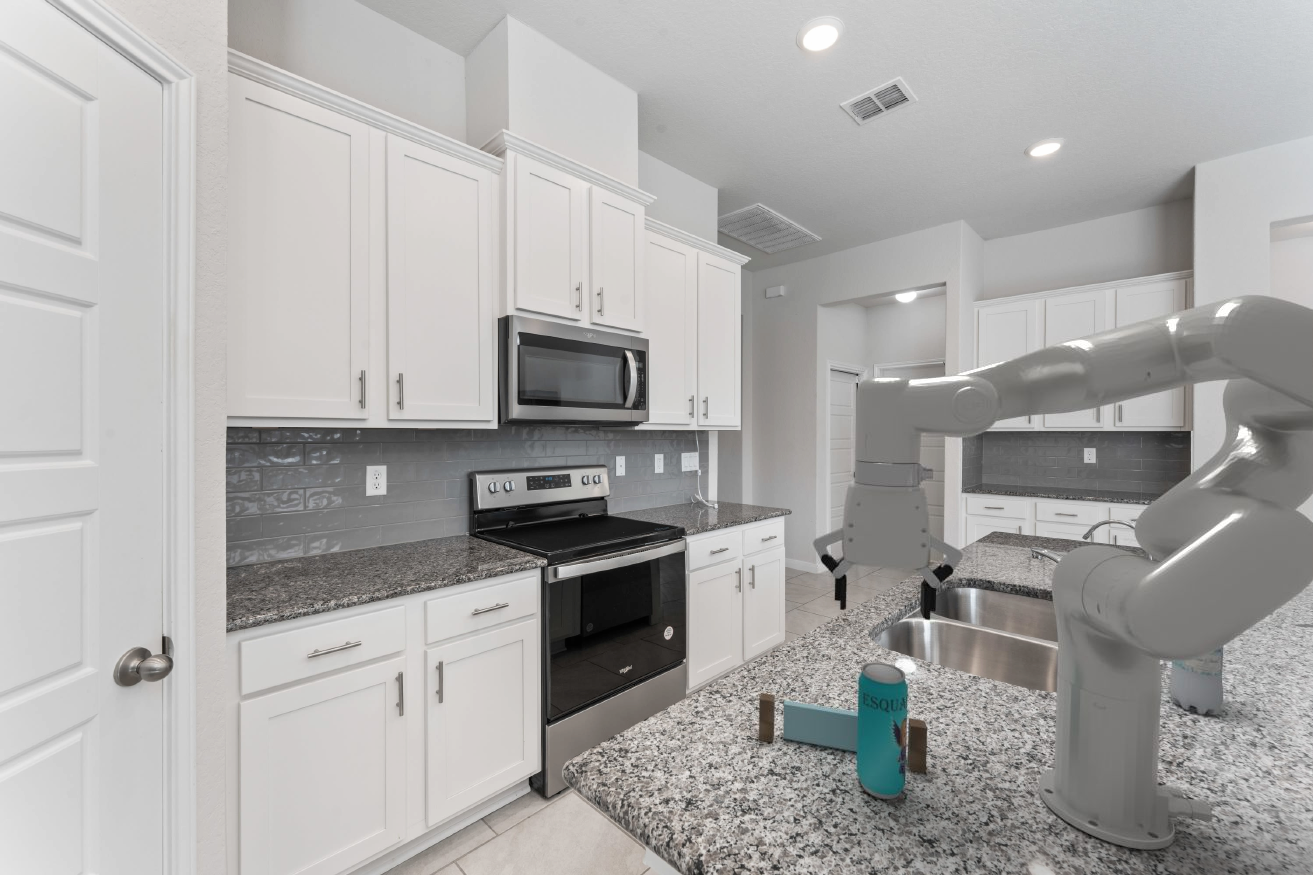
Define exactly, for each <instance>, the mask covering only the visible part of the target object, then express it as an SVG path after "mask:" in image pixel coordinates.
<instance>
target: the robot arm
mask: <svg viewBox="0 0 1313 875" xmlns="http://www.w3.org/2000/svg"><path fill="white" fill-rule="evenodd" d="M1213 381H1214V382H1215V381H1228V382H1227V383H1226V385H1225V387H1224V390H1223V394H1222V407H1223V413H1224V418H1225V437H1224V441H1223V444H1222V445H1221V447H1220V448H1219V450H1218V451H1217V452H1215V454H1214V455H1212V457H1211V458H1209V460H1208V461H1206V462H1205V463H1204V464H1203V465H1201V466H1200V467H1198V469H1196V470H1194V471H1193V472H1192V473H1191V474H1189V475H1188V476H1186V478H1184V479H1183V480H1182V481H1180V482H1178V483H1177V484H1176V485H1174V486H1173V487H1172V488H1170V489H1169V490H1168V491H1166V492H1165V493H1164V494H1162V495H1161V496H1160V497H1158V498H1157V499H1155V500H1154V501H1153V502H1151V503H1149V505H1148V506H1146V508H1145V509H1143V511H1141V513H1140V514H1139V515H1138V517H1137V519H1136V521H1135V524H1134V529H1133V530H1134V532H1133V533H1134V537H1135V540H1136V541H1137V544H1138V545H1139V547H1141V549H1143V551H1144V552H1146V553H1147V554H1148V555H1149V556H1151V557H1152V558H1154V559H1156V560H1157V561H1155V560H1152V559H1151V558H1149V557H1148V558H1147V557H1146V556H1143V555H1139V554H1136V553H1134V552H1130V551H1127V550H1124V549H1121V548H1117V547H1113V546H1109V545H1101V544H1100V545H1099V544H1096V545H1095V544H1094V545H1093V544H1091V545H1084V546H1080V547H1076V548H1074V549H1072V550H1070V551H1069V552H1067V553H1066V554H1064V555H1063V556H1062V557H1061V558H1060V560H1059V561H1058V562H1057V564H1056V565H1055V567H1054V570H1053V572H1052V578H1051V595H1052V601H1053V607H1054V608H1053V609H1054V615H1055V619H1056V620H1055V621H1056V628H1057V630H1056V631H1057V671H1056V672H1057V676H1056V702H1055V703H1056V705H1055V706H1056V707H1055V710H1056V711H1055V712H1056V713H1055V736H1054V738H1055V740H1054V768H1052V769H1049V770H1047V771H1045V772H1043V773H1041V775H1040V777H1039V778H1038V786H1037V787H1038V793H1039V796H1040V798H1041V799H1042V801H1043V802H1044V803H1045V804H1046V806H1047V807H1048V808H1050V810H1052V812H1053V813H1054V814H1056V815H1057V816H1059V817H1060V818H1061V819H1062V820H1064V821H1065V822H1067V823H1068V824H1070V825H1072V826H1073V827H1075V828H1076V829H1079V830H1080V831H1082V832H1085V833H1086V834H1088V835H1089V836H1090V835H1091V836H1093V837H1095V838H1097V839H1100V840H1102V841H1106V842H1108V843H1111V844H1114V845H1119V846H1121V847H1126V848H1132V849H1137V850H1150V851H1152V850H1160V849H1164V848H1167V847H1169V846H1171V845H1172V843H1173V842H1174V841H1175V836H1176V831H1175V830H1176V829H1175V824H1174V822H1173V820H1172V819H1177V818H1178V817H1180V816H1181V817H1186V818H1189V819H1193V820H1198V821H1203V822H1204V821H1205V822H1212V820H1213V812H1212V809H1211V807H1210V805H1209V804H1208V803H1207V802H1206V801H1202V800H1197V799H1192V798H1191V799H1190V798H1185V797H1184V793H1183V791H1182V789H1180V788H1179V787H1173V786H1167V785H1165V786H1163V785H1159V782H1158V781H1159V780H1158V779H1159V758H1160V757H1159V754H1160V732H1161V731H1160V727H1161V706H1162V705H1161V703H1162V702H1161V701H1162V699H1161V698H1162V684H1163V683H1162V670H1161V669H1162V668H1161V664H1160V661H1164V662H1169V663H1172V662H1185V661H1191V660H1195V659H1198V658H1201V657H1204V656H1206V655H1208V654H1210V653H1212V652H1214V651H1216V650H1218V649H1219V648H1221V647H1223V648H1224V646H1226V645H1227V644H1229V643H1230V642H1232V641H1233V640H1234V639H1237V638H1238V637H1240V635H1243V634H1244V633H1245V632H1247V631H1248V630H1249V629H1251V628H1252V627H1254V626H1255V625H1257V624H1258V623H1260V622H1261V621H1263V620H1264V619H1266V618H1267V617H1268V616H1270V615H1271V614H1272V613H1274V612H1275V611H1278V609H1280V608H1281V607H1283V606H1284V605H1286V604H1287V603H1288V602H1290V601H1292V600H1293V599H1294V598H1296V597H1297V596H1298V595H1300V594H1301V593H1302V592H1303V591H1304V590H1305V589H1307V587H1309V585H1310V584H1311V583H1312V582H1313V521H1312V520H1311V519H1310V518H1308V517H1307V516H1306V515H1305V514H1303V513H1302V512H1300V511H1298V510H1297V509H1298V508H1299V507H1300V506H1302V505H1303V504H1305V502H1306V501H1308V499H1310V498H1311V497H1312V495H1313V308H1309V307H1307V306H1305V305H1301V304H1298V303H1295V302H1292V301H1288V300H1286V299H1280V298H1277V297H1273V296H1267V295H1258V294H1257V295H1256V294H1255V295H1254V294H1248V295H1246V294H1245V295H1241V296H1240V295H1239V296H1235V297H1234V296H1233V297H1232V298H1228V299H1227V298H1226V299H1224V300H1223V299H1222V300H1219V301H1215V302H1211V303H1207V304H1203V305H1200V306H1196V307H1192V308H1188V309H1184V310H1181V311H1176V312H1172V313H1169V314H1163V315H1160V316H1157V317H1152V318H1149V319H1146V320H1145V319H1144V320H1142V321H1138V322H1135V323H1131V324H1127V325H1122V326H1119V327H1115V328H1111V329H1108V330H1107V329H1106V330H1105V331H1101V332H1096V333H1092V334H1088V335H1083V336H1081V337H1077V338H1073V339H1069V340H1066V341H1063V342H1059V343H1056V344H1052V345H1049V346H1046V347H1043V348H1040V349H1037V350H1035V351H1031V352H1029V353H1027V354H1024V355H1020V356H1018V357H1014V358H1011V359H1008V360H1005V361H1000V362H998V363H994V364H991V365H987V366H983V367H979V368H974V369H971V370H968V371H964V372H959V373H956V374H953V375H952V374H951V375H945V376H937V377H936V376H935V377H927V378H912V377H907V376H878V377H876V376H875V377H869V378H866V379H863V380H862V381H861V382H859V384H858V386H857V389H856V402H855V403H856V406H855V408H856V410H855V411H856V412H855V413H856V416H855V448H854V449H855V450H854V452H855V453H854V454H855V455H854V456H855V457H854V459H855V460H854V484H853V483H851V484H848V486H847V490H846V493H845V494H846V495H845V499H844V500H845V501H844V508H843V519H842V520H843V521H842V527H841V528H838V529H836V530H834V531H830V532H829V533H826V534H824V535H822V536H819V537H816V538H815V539H814V540H813V542H812V543H813V544H812V545H813V547H814V550H815V551H816V553H817V556H818V557H819V558H820V562H821V563H822V565H824V566H825V567H826V569H827V570H828V571H829V572H830V573H831V574H832V576H833V577H834V601H837V602H839V610H840V611H845V610H846V609H847V588H848V587H847V586H848V585H847V584H848V583H847V582H848V580H847V574H846V573H847V572H848V571H849V570H850V569H851V568H853V566H859V567H869V568H880V569H881V568H882V569H893V570H903V571H917V572H918V573H919V574H920V575H921V577H922V578H923V580H922V581H921V582H920V602H919V603H920V608H919V611H920V613H921V616H922V618H923V619H924V620H927V621H930V620H931V612H936V609H937V588H939V587H940V585H941V583H943V582H944V581H945V580H947V579H948V578H949V577H951V576H952V575H953V573H954V571H955V569H956V568H957V567H958V565H959V564H960V562H961V560H962V559H963V557H964V554H963V552H962V551H961V550H960V549H958V548H956V547H954V546H953V545H951V544H949V543H947V542H945V541H944V540H942V539H940V538H938V537H936V536H934V535H932V534H931V527H930V523H931V522H930V513H929V505H928V504H929V503H928V497H927V493H926V490H925V488H924V487H920V486H921V483H922V482H923V481H927V480H933V478H934V469H933V468H926V467H924V466H923V465H922V464H921V442H922V440H921V438H922V434H925V435H929V436H934V437H947V438H958V439H959V438H961V439H962V438H970V437H974V436H977V435H981V434H983V433H985V432H986V431H988V430H989V429H991V428H992V427H993V426H994V424H995V423H996V422H999V421H1005V420H1010V419H1011V420H1012V419H1014V418H1021V417H1028V416H1039V415H1040V416H1041V415H1055V414H1067V413H1075V412H1081V411H1086V410H1092V409H1097V408H1100V407H1104V406H1109V405H1113V404H1117V403H1121V402H1124V401H1128V400H1131V399H1132V400H1133V399H1138V398H1140V397H1141V398H1142V397H1145V396H1149V395H1153V394H1156V393H1157V394H1159V393H1163V392H1166V391H1169V390H1170V391H1171V390H1175V389H1179V388H1182V387H1187V386H1192V385H1196V384H1201V383H1207V382H1213ZM840 541H841V549H842V557H841V558H840V559H838V560H836V559H835V558H834V557H833V555H831V554H830V552H829V550H828V548H827V547H828V546H830V545H832V544H836V543H837V542H840ZM931 549H933V550H936V551H937V552H940V553H942V554H943V555H945V558H944V561H942V563H941V564H939V565H938V566H937V567H936V568H934V569H933V570H932V568H930V563H931V553H932V552H931ZM1158 561H1159V562H1158Z"/></svg>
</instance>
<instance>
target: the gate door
mask: <svg viewBox="0 0 1313 875" xmlns="http://www.w3.org/2000/svg"><path fill="white" fill-rule="evenodd" d="M857 728H858V711H853V710H848V709H841V708H836V707H828V706H821V705H816V704H810V703H803V702H797V701H791V700H786V699H785V700H784V701H783V726H782V730H783V736H782V738H783V739H787V740H792V741H797V742H803V743H808V744H812V745H818V746H823V747H829V748H835V749H841V750H846V751H852V752H856V753H857Z"/></svg>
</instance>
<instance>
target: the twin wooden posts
mask: <svg viewBox="0 0 1313 875" xmlns="http://www.w3.org/2000/svg"><path fill="white" fill-rule="evenodd" d="M775 697H776V695H775V694H771V693H766V692H765V693H764V692H761V693H760V695H759V698H758V699H759V700H758V701H759V703H758V705H759V706H758V741H762V742H767V743H768V742H769V743H773V742H774V738H775V715H776V714H775V708H776V707H775V704H776V698H775ZM907 732H908V733H907V735H908V736H907V739H908V740H907V765H908V769H909V771H913V772H918V773H922V774H927V758H928V756H927V754H928V753H927V752H928V749H927V748H928V747H927V746H928V726H927V724H926V720H924V719H923V720H922V719H917V718H909V717H908V725H907Z"/></svg>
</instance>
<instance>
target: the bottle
mask: <svg viewBox="0 0 1313 875" xmlns="http://www.w3.org/2000/svg"><path fill="white" fill-rule="evenodd" d="M1223 663H1224V646H1223V647H1221V648H1219V649H1218V650H1216V651H1214V652H1212V653H1210V654H1208V655H1206V656H1204V657H1201V658H1198V659H1195V660H1191V661H1185V662H1171V669H1170V670H1171V671H1170V676H1169V684H1168V685H1169V688H1168V690H1169V695H1170V698H1171V699H1170V700H1171V701H1172V702H1173V703H1174V704H1175V705H1177V706H1181V708H1182V709H1184V710H1186V711H1189V710H1190V709H1191V706H1193V707H1195V708H1196V711H1197V714H1199V715H1205V714H1206V713H1208V714H1209V715H1210V716H1213V715H1214V716H1215V715H1217V714H1219V712H1220V711H1221V709H1222V706H1223V702H1224V688H1223V687H1224V686H1223V685H1224V684H1223V669H1224V668H1223V667H1224V666H1223Z"/></svg>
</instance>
